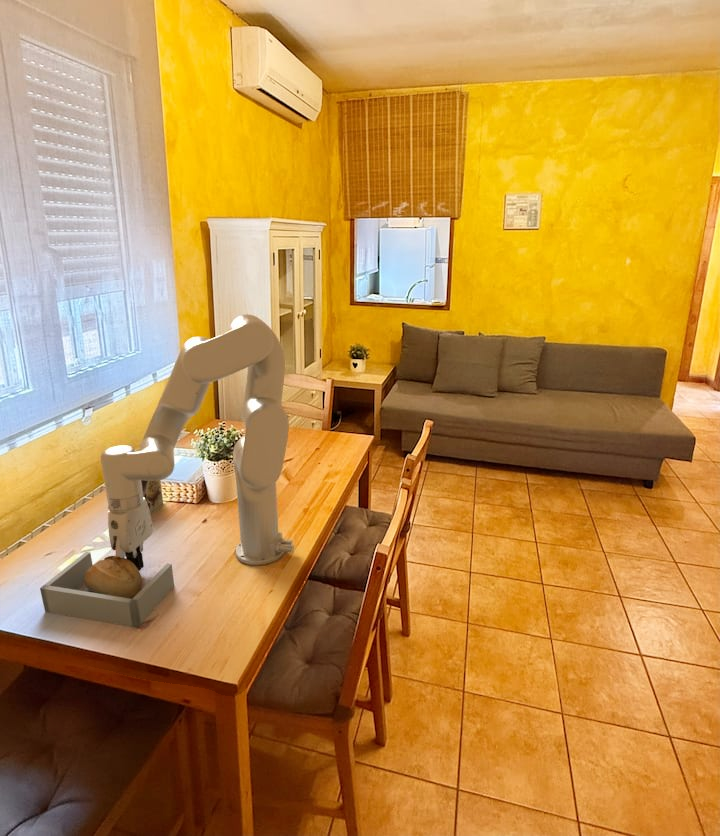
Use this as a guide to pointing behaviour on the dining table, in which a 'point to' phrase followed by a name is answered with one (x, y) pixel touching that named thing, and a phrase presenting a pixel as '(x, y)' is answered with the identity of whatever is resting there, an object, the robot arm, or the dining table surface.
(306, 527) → the dining table surface
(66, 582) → the box
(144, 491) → the coffee box
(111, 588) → the bread roll
